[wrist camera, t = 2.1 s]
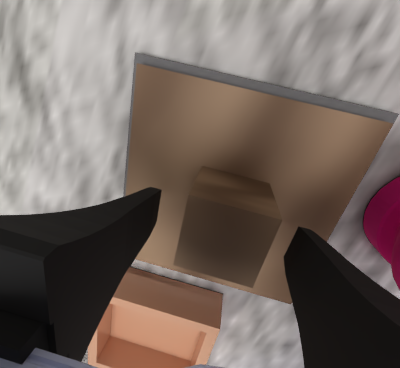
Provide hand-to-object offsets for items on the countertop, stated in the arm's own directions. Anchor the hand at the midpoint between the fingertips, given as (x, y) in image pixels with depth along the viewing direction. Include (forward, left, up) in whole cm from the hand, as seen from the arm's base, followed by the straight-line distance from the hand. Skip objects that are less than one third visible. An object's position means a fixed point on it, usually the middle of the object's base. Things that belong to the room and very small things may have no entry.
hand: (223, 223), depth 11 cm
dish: (+3, +14, -4) cm, 15 cm away
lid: (0, 0, -3) cm, 3 cm away
